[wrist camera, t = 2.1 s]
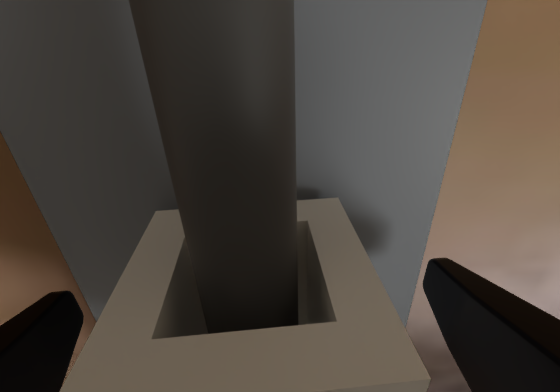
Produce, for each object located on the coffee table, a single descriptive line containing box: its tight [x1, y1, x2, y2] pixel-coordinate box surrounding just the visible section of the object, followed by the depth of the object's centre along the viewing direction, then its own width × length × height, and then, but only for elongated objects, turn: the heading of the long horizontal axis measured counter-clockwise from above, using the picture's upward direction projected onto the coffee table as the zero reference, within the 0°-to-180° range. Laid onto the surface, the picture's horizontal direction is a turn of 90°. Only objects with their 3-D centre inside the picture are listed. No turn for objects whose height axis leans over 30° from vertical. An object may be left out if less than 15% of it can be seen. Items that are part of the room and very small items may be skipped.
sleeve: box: [60, 197, 431, 392], centre depth 6 cm, size 4×4×4 cm
